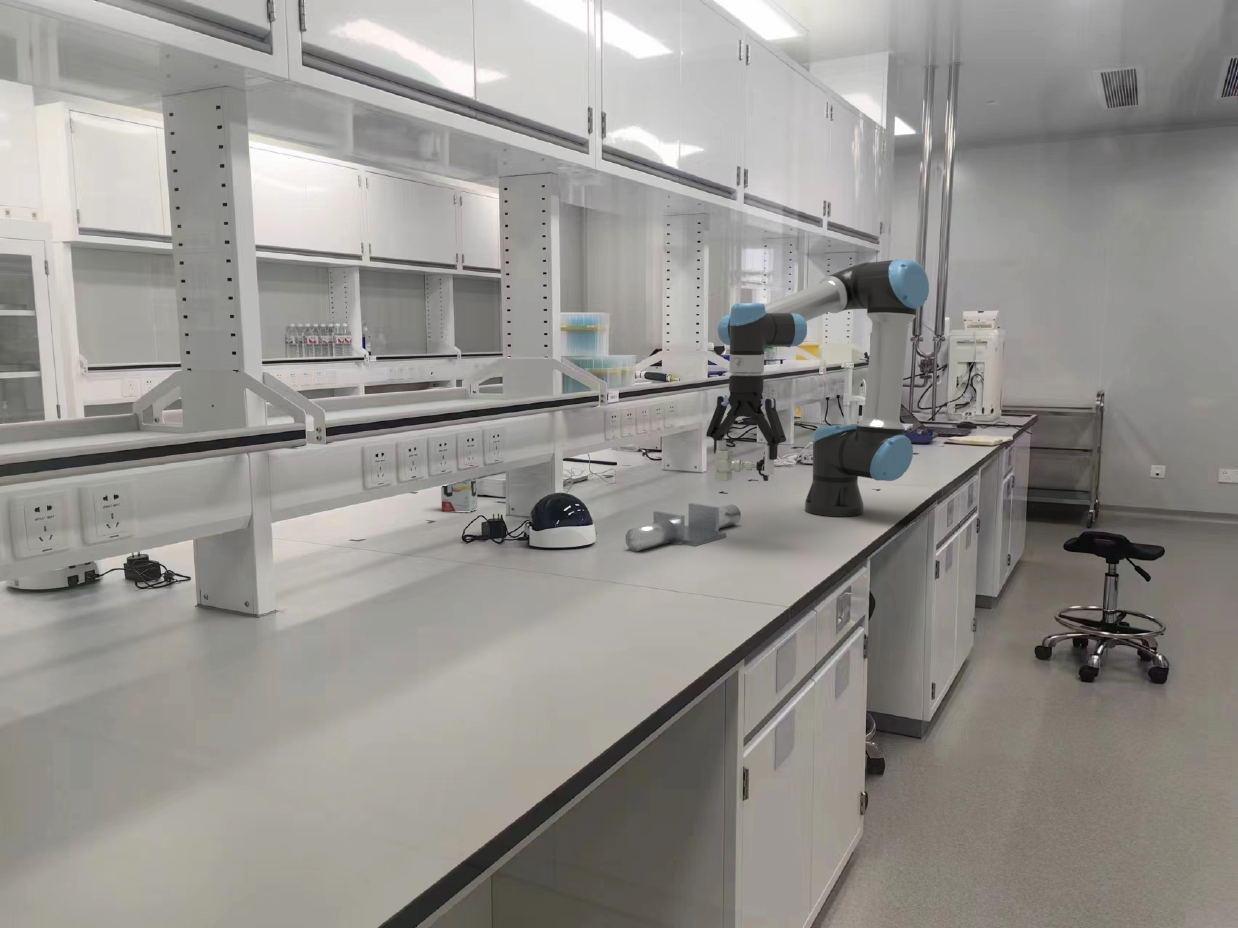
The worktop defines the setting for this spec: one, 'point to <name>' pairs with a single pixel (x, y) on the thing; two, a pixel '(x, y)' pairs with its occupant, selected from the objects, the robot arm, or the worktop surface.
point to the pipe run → (684, 527)
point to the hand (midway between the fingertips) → (744, 471)
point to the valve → (734, 465)
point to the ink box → (459, 497)
